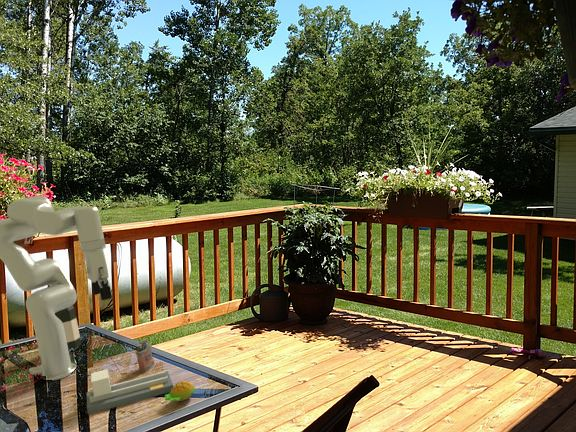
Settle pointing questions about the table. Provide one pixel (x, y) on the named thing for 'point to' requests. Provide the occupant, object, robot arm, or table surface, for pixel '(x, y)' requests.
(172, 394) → the toy pineapple
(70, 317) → the wine bottle
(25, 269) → the robot arm
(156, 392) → the fader board
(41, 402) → the table surface
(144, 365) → the lighter
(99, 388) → the fader knob
